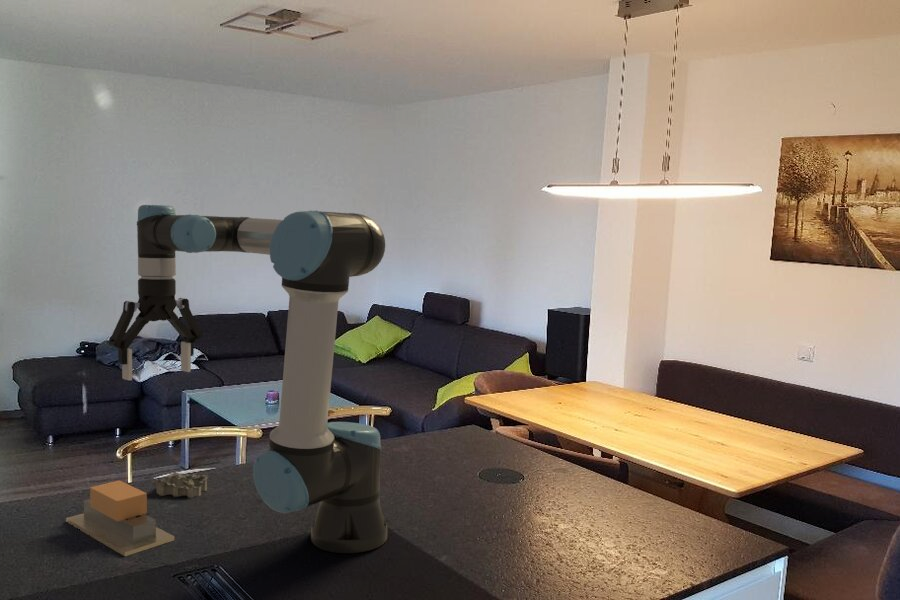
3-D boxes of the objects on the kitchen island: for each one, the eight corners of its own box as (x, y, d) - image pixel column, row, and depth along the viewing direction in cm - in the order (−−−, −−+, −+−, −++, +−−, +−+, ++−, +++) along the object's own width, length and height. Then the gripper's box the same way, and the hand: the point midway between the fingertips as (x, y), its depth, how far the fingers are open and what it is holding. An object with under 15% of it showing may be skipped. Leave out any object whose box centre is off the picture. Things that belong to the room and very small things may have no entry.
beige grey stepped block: (174, 540, 146) (174, 518, 145) (124, 556, 138) (124, 534, 138) (113, 508, 161) (113, 489, 160) (66, 521, 153) (65, 501, 153)
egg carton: (151, 496, 169) (151, 479, 169) (168, 485, 177) (168, 468, 177) (196, 499, 168) (196, 482, 168) (211, 488, 175) (211, 471, 175)
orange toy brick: (147, 527, 148) (146, 493, 148) (117, 536, 144) (117, 501, 143) (119, 513, 155) (119, 480, 155) (90, 521, 151) (90, 487, 150)
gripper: (198, 274, 172) (199, 365, 174) (90, 278, 153) (91, 380, 155) (217, 276, 167) (217, 370, 169) (108, 280, 148) (109, 385, 150)
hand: (157, 375), depth 162 cm, fingers open, 13 cm apart
